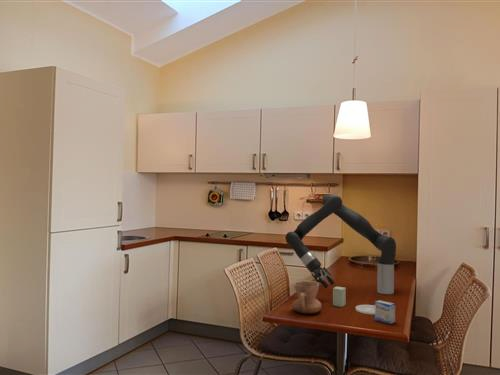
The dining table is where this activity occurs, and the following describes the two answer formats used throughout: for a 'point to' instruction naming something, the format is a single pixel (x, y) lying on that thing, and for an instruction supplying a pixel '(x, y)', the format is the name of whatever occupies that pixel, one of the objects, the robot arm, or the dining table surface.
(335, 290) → the sage block
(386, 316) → the medicine box
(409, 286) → the dining table surface
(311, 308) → the ceramic jug
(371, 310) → the dish
